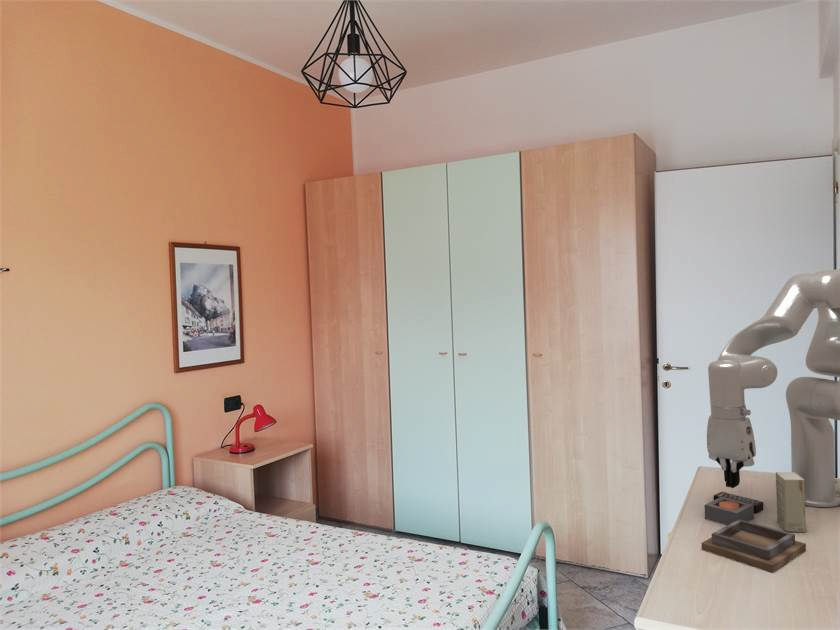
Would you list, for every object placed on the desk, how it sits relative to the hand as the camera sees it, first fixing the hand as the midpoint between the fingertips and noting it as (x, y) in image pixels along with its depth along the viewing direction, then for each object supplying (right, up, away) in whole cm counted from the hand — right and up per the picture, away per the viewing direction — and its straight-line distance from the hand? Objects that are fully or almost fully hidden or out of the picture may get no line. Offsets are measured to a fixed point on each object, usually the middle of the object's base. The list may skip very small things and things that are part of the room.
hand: (732, 485), depth 157 cm
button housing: (-1, -8, 0) cm, 8 cm away
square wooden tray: (-4, -9, -17) cm, 20 cm away
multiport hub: (+5, -8, +8) cm, 12 cm away
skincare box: (+11, -8, -7) cm, 15 cm away
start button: (-1, -7, 0) cm, 7 cm away
